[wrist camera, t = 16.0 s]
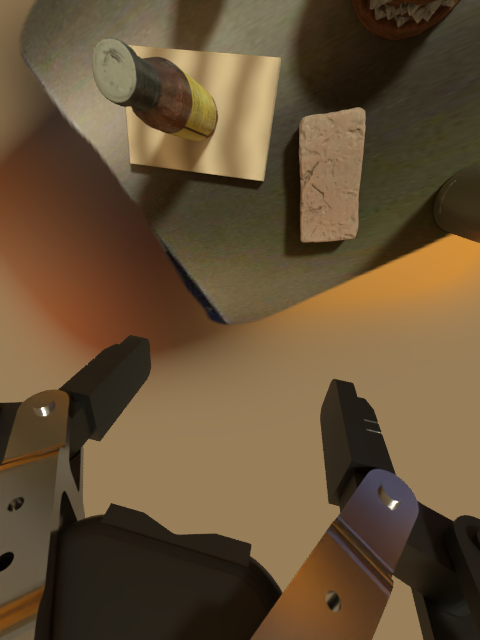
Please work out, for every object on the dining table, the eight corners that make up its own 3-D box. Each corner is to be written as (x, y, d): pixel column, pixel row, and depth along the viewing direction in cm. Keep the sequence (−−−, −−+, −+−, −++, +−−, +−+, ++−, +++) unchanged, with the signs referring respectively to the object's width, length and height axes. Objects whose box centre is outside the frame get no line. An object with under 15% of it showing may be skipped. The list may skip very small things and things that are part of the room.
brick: (298, 121, 37) (298, 114, 33) (361, 109, 35) (369, 100, 31) (300, 239, 45) (300, 245, 41) (352, 234, 43) (357, 240, 39)
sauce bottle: (204, 78, 36) (117, -20, 18) (227, 125, 38) (170, 77, 20) (169, 111, 38) (64, 53, 21) (193, 153, 40) (115, 132, 23)
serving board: (280, 62, 34) (280, 57, 33) (263, 181, 41) (262, 181, 40) (127, 49, 37) (121, 44, 36) (135, 163, 44) (130, 163, 42)
